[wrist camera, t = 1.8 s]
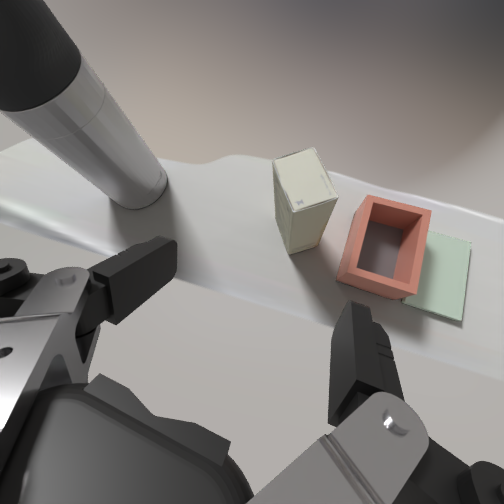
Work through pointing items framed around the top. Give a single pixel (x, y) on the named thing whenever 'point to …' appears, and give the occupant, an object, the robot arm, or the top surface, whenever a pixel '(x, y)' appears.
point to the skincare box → (302, 199)
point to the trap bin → (385, 248)
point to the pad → (442, 276)
